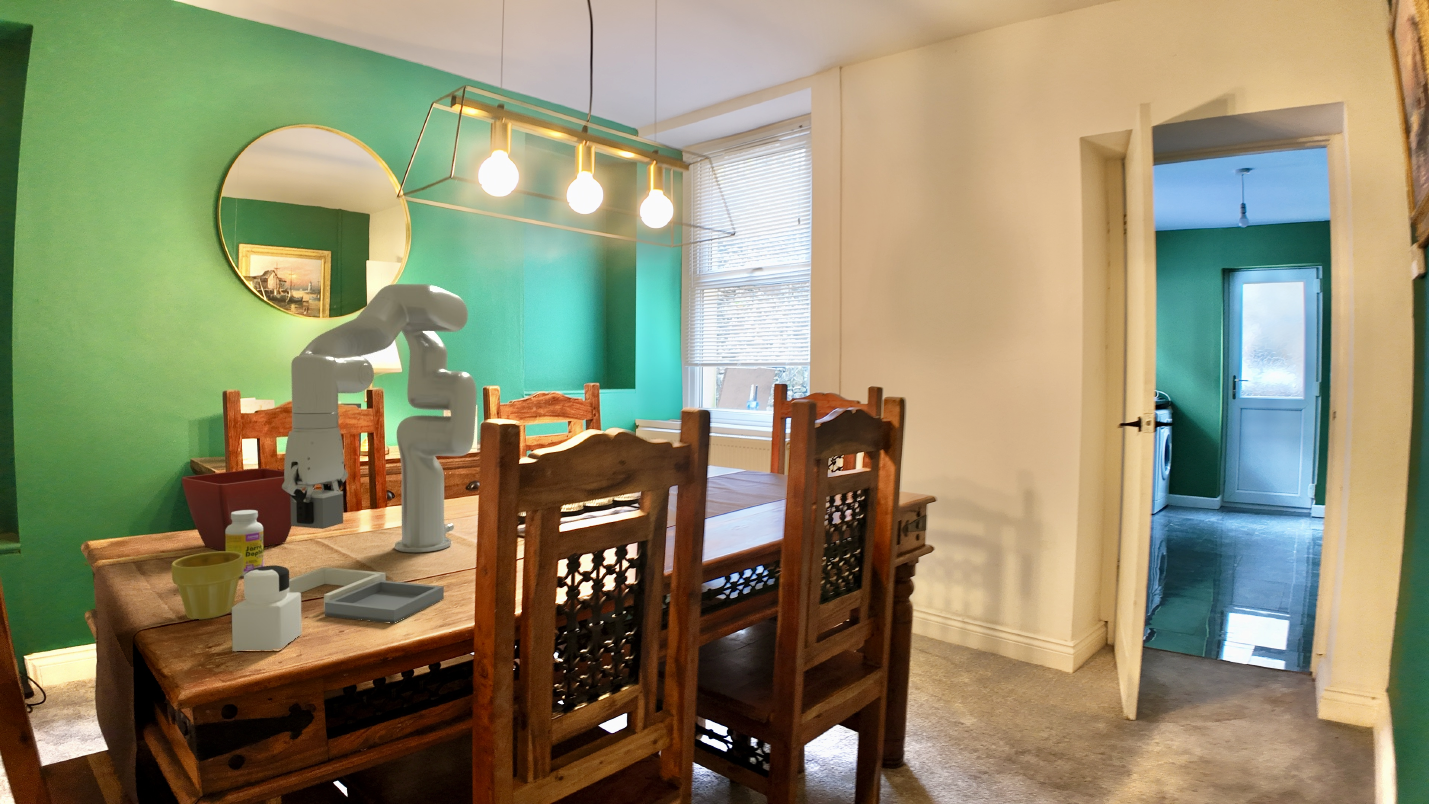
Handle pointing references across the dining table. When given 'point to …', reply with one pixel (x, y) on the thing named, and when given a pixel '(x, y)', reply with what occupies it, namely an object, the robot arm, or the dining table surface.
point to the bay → (334, 580)
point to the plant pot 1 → (238, 503)
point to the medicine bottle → (266, 611)
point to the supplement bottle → (246, 538)
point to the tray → (384, 601)
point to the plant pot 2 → (208, 582)
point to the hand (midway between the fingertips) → (317, 519)
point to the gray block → (322, 509)
